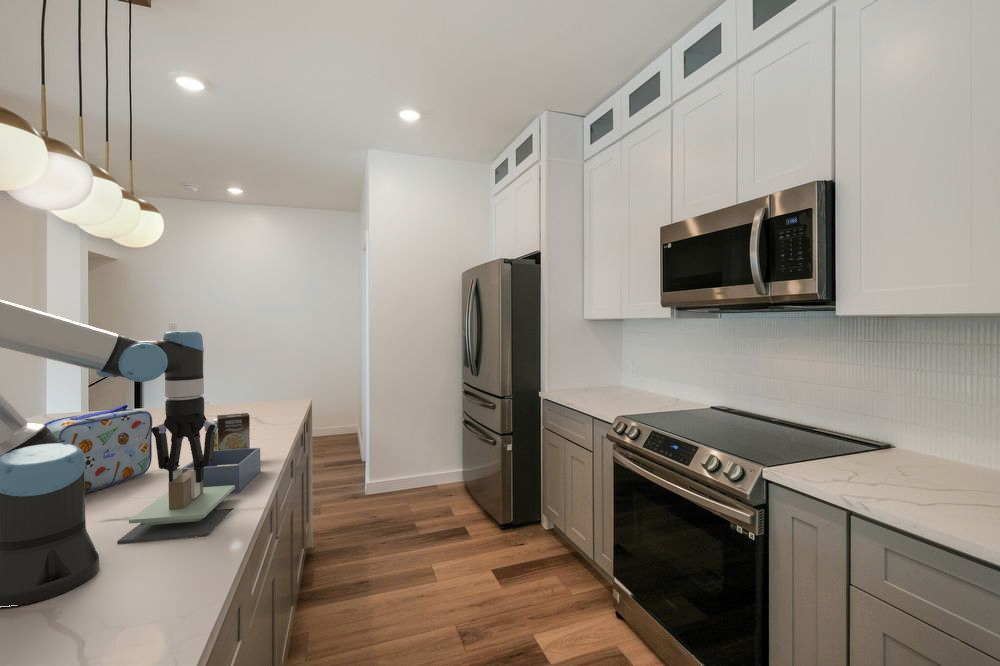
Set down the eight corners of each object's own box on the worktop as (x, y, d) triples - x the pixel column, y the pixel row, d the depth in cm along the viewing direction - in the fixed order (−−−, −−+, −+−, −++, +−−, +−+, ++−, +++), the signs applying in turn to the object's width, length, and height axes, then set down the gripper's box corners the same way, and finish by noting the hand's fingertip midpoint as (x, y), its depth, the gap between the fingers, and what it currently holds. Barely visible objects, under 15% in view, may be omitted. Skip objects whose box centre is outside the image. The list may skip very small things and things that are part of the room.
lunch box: (133, 469, 145) (132, 399, 145) (160, 471, 143) (159, 400, 143) (28, 502, 118) (26, 417, 118) (60, 505, 116) (58, 418, 116)
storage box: (239, 495, 122) (239, 465, 122) (180, 499, 120) (180, 469, 120) (260, 473, 140) (260, 447, 140) (209, 477, 137) (209, 450, 137)
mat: (207, 535, 99) (207, 533, 99) (117, 543, 96) (117, 540, 96) (243, 497, 121) (243, 495, 121) (170, 503, 117) (170, 500, 117)
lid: (204, 523, 101) (203, 486, 100) (129, 529, 98) (128, 491, 98) (235, 492, 119) (234, 462, 119) (172, 497, 116) (171, 465, 116)
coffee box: (217, 469, 144) (216, 418, 144) (216, 464, 150) (215, 415, 149) (250, 464, 149) (249, 415, 149) (248, 459, 155) (248, 412, 154)
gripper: (228, 393, 113) (230, 488, 113) (154, 395, 110) (156, 493, 110) (216, 398, 106) (218, 500, 106) (136, 401, 102) (138, 505, 103)
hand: (186, 496), depth 108 cm, fingers closed on lid, 3 cm apart
